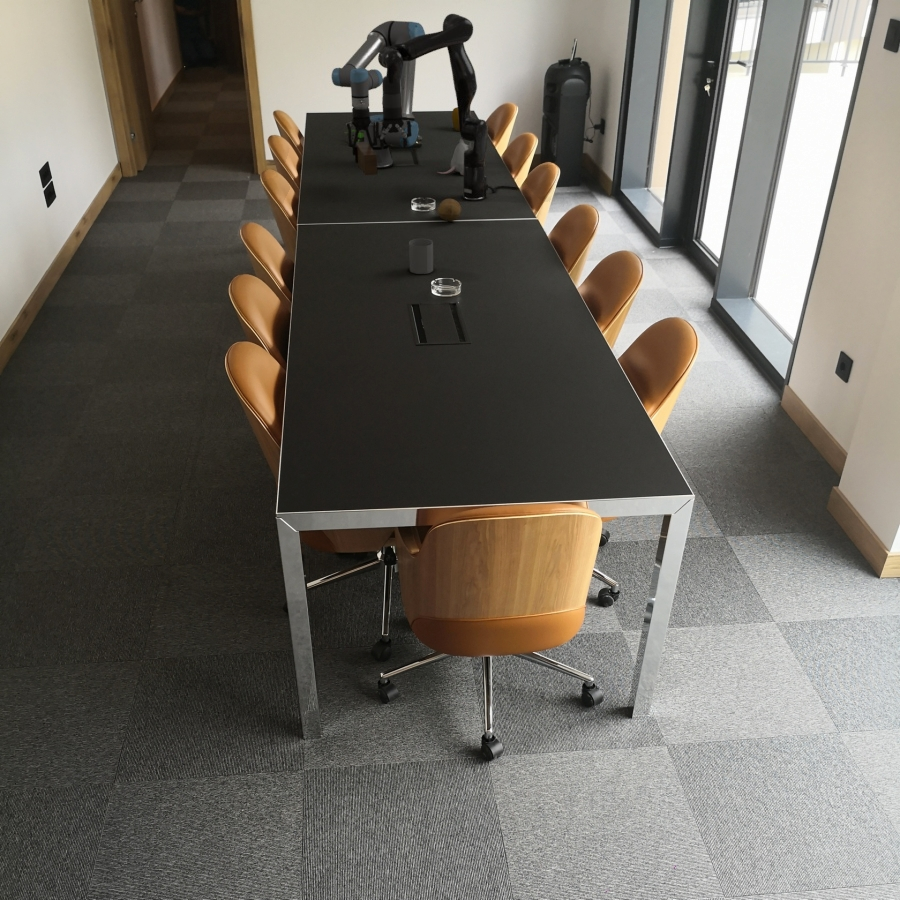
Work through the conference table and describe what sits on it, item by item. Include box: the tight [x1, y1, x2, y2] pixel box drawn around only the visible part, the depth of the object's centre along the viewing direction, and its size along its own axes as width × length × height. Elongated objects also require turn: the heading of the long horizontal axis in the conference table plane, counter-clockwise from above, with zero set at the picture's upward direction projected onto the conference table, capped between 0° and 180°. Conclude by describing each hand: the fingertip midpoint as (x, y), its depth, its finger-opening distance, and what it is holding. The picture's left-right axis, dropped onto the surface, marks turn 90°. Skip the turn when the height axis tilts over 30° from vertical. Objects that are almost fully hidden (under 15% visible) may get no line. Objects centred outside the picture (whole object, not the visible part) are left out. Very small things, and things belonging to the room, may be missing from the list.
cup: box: [408, 237, 434, 275], centre depth 305 cm, size 8×8×10 cm
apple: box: [451, 106, 472, 132], centre depth 487 cm, size 11×11×13 cm
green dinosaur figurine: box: [343, 129, 364, 144], centre depth 465 cm, size 6×13×30 cm
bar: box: [356, 142, 378, 176], centre depth 380 cm, size 24×5×8 cm, turn 15°
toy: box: [437, 138, 472, 176], centre depth 408 cm, size 9×24×15 cm, turn 137°
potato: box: [437, 198, 462, 222], centre depth 353 cm, size 10×14×8 cm
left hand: (363, 162), depth 389 cm, fingers closed on bar, 5 cm apart
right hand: (393, 148), depth 344 cm, fingers open, 8 cm apart
